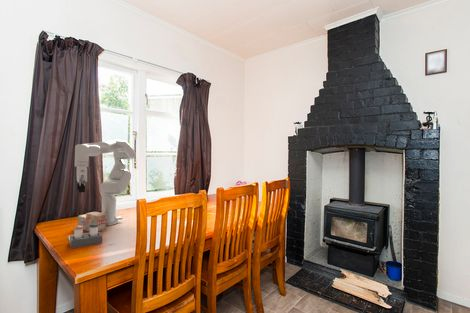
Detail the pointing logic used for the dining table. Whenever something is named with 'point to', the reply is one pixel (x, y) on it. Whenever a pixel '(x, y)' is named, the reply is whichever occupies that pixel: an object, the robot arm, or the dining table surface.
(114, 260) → the dining table surface
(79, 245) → the socket strip
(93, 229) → the grey capped white peg
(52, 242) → the dining table surface
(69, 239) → the tray
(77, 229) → the plug
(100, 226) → the stack of blocks
